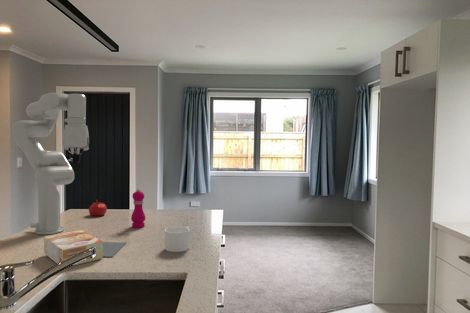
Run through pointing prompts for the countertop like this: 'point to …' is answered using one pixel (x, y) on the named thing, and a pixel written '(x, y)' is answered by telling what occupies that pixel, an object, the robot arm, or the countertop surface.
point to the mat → (111, 248)
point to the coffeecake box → (71, 245)
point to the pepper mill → (138, 210)
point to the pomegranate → (97, 209)
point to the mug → (177, 239)
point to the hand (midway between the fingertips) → (76, 163)
